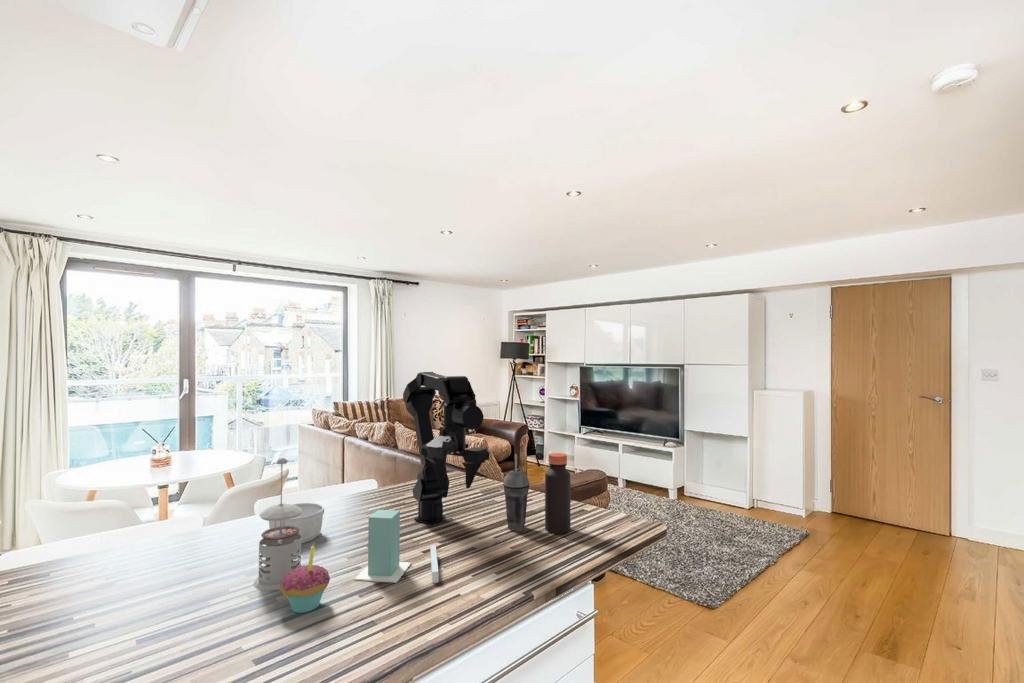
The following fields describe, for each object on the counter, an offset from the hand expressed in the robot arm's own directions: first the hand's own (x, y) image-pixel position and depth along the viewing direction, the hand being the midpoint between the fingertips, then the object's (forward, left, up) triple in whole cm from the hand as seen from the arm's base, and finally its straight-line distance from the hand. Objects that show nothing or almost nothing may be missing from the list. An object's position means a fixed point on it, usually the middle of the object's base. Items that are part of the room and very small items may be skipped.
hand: (454, 485), depth 124 cm
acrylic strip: (+9, -17, -13) cm, 23 cm away
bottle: (+20, +19, -13) cm, 31 cm away
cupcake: (0, -42, -13) cm, 44 cm away
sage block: (+1, -24, -13) cm, 27 cm away
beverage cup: (+10, +14, -13) cm, 22 cm away
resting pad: (+1, -24, -13) cm, 27 cm away
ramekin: (-33, -23, -13) cm, 42 cm away
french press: (-15, -38, -13) cm, 43 cm away
